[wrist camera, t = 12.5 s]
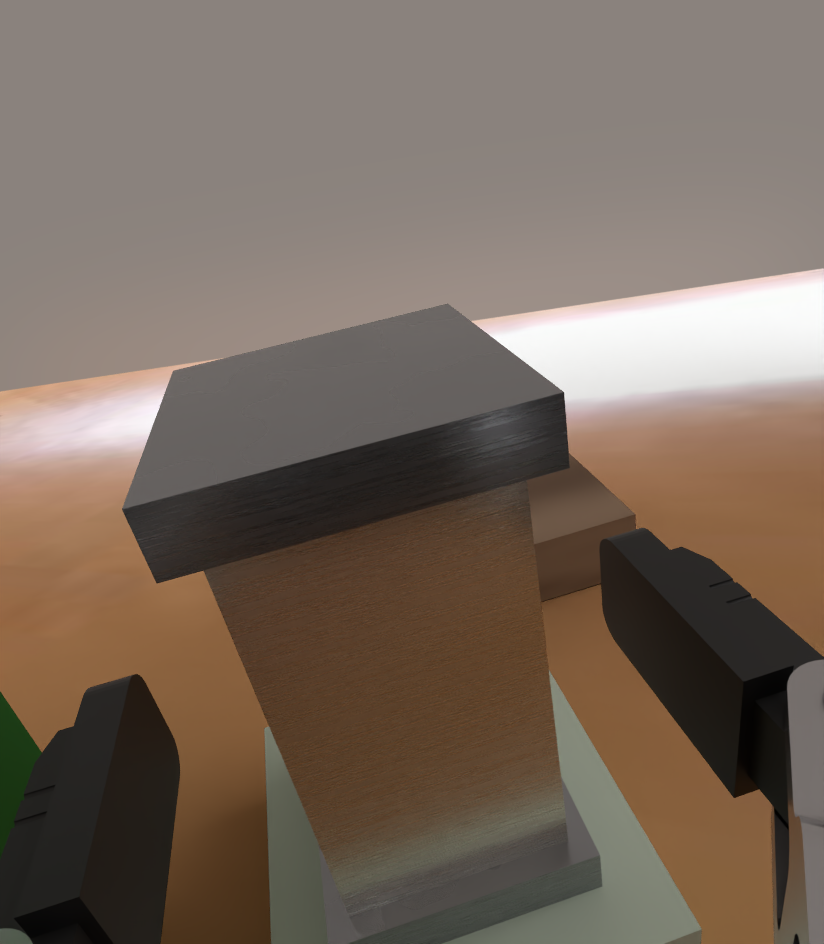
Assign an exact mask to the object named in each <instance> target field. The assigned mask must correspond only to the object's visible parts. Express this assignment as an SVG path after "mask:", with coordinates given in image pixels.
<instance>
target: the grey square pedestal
mask: <svg viewBox="0 0 824 944" xmlns="http://www.w3.org/2000/svg"><path fill="white" fill-rule="evenodd" d="M569 468H570V464H569V452H568V439H567V426H566V413H565V401H564V392H563V391H562V390H560V389H559V388H558V387H556V386H555V385H554V384H553V383H551V382H550V381H549V380H547V379H546V378H545V377H543V376H542V375H541V374H539V373H538V372H537V371H535V370H534V369H533V368H532V367H530V366H529V365H528V364H526V363H525V362H524V361H522V360H521V359H520V358H518V357H517V356H516V355H514V354H513V353H512V352H511V351H509V350H508V349H507V348H505V347H504V346H503V345H501V344H500V343H499V342H497V341H496V340H495V339H493V338H492V337H491V336H489V335H488V334H487V333H486V332H484V331H483V330H482V329H480V328H479V327H478V326H476V325H475V324H474V323H472V322H471V321H470V320H468V319H467V318H466V317H465V316H463V315H462V314H460V313H459V312H458V311H456V310H455V309H454V308H453V307H451V306H450V305H449V304H445V305H441V306H437V307H433V308H429V309H424V310H420V311H417V312H412V313H408V314H404V315H400V316H396V317H392V318H388V319H383V320H379V321H375V322H371V323H367V324H363V325H359V326H355V327H351V328H347V329H343V330H338V331H334V332H330V333H326V334H323V335H318V336H314V337H310V338H306V339H302V340H298V341H293V342H289V343H285V344H281V345H277V346H273V347H269V348H265V349H261V350H257V351H253V352H248V353H244V354H241V355H236V356H232V357H228V358H224V359H220V360H216V361H212V362H207V363H203V364H199V365H195V366H191V367H187V368H183V369H179V370H175V371H173V373H172V375H171V378H170V381H169V384H168V386H167V389H166V392H165V394H164V397H163V400H162V402H161V405H160V408H159V411H158V413H157V416H156V419H155V421H154V424H153V427H152V430H151V432H150V435H149V438H148V440H147V443H146V446H145V449H144V451H143V454H142V457H141V459H140V462H139V465H138V467H137V470H136V473H135V476H134V478H133V481H132V484H131V486H130V489H129V492H128V495H127V497H126V500H125V503H124V505H123V508H122V510H123V512H124V515H125V517H126V519H127V521H128V523H129V525H130V527H131V529H132V532H133V534H134V536H135V538H136V540H137V542H138V544H139V547H140V549H141V551H142V553H143V555H144V557H145V559H146V561H147V564H148V566H149V568H150V570H151V572H152V574H153V576H154V579H155V581H156V583H160V582H164V581H167V580H171V579H175V578H178V577H182V576H185V575H189V574H192V573H196V572H200V571H203V570H204V573H205V575H206V577H207V580H208V582H209V585H210V587H211V589H212V592H213V594H214V596H215V599H216V601H217V604H218V606H219V608H220V611H221V613H222V616H223V618H224V620H225V623H226V625H227V627H228V630H229V632H230V635H231V637H232V639H233V642H234V644H235V646H236V649H237V651H238V654H239V656H240V658H241V661H242V663H243V665H244V668H245V670H246V673H247V675H248V677H249V680H250V682H251V684H252V687H253V689H254V692H255V694H256V696H257V699H258V701H259V703H260V706H261V708H262V711H263V713H264V715H265V718H266V720H267V723H268V725H269V727H270V730H271V732H272V734H273V737H274V739H275V742H276V744H277V746H278V749H279V751H280V753H281V756H282V758H283V761H284V763H285V765H286V768H287V770H288V772H289V775H290V777H291V780H292V782H293V784H294V787H295V789H296V791H297V794H298V796H299V799H300V801H301V803H302V806H303V808H304V810H305V813H306V815H307V818H308V820H309V822H310V825H311V827H312V830H313V832H314V834H315V837H316V839H317V841H318V844H319V853H320V864H321V874H322V885H323V895H324V906H325V916H326V927H327V937H328V944H442V943H445V942H448V941H451V940H454V939H456V938H459V937H462V936H465V935H468V934H471V933H473V932H476V931H479V930H482V929H485V928H487V927H490V926H493V925H496V924H499V923H501V922H504V921H507V920H510V919H513V918H515V917H518V916H521V915H524V914H527V913H529V912H532V911H535V910H538V909H541V908H543V907H546V906H549V905H552V904H555V903H557V902H560V901H563V900H566V899H569V898H571V897H574V896H577V895H580V894H583V893H586V892H588V891H591V890H594V889H597V888H600V887H602V873H601V860H600V854H599V852H598V850H597V848H596V846H595V844H594V842H593V840H592V838H591V836H590V834H589V832H588V830H587V828H586V826H585V824H584V822H583V820H582V818H581V816H580V814H579V811H578V809H577V807H576V805H575V803H574V801H573V799H572V797H571V795H570V793H569V791H568V789H567V787H566V785H565V783H564V781H563V779H562V777H561V772H560V763H559V755H558V746H557V737H556V729H555V720H554V711H553V703H552V694H551V685H550V677H549V668H548V659H547V651H546V642H545V633H544V625H543V616H542V607H541V599H540V590H539V581H538V573H537V564H536V555H535V547H534V538H533V529H532V521H531V512H530V503H529V495H528V486H527V480H529V479H533V478H536V477H540V476H543V475H547V474H551V473H554V472H558V471H561V470H565V469H569Z"/></svg>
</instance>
